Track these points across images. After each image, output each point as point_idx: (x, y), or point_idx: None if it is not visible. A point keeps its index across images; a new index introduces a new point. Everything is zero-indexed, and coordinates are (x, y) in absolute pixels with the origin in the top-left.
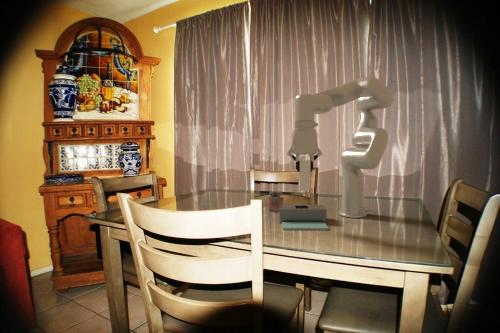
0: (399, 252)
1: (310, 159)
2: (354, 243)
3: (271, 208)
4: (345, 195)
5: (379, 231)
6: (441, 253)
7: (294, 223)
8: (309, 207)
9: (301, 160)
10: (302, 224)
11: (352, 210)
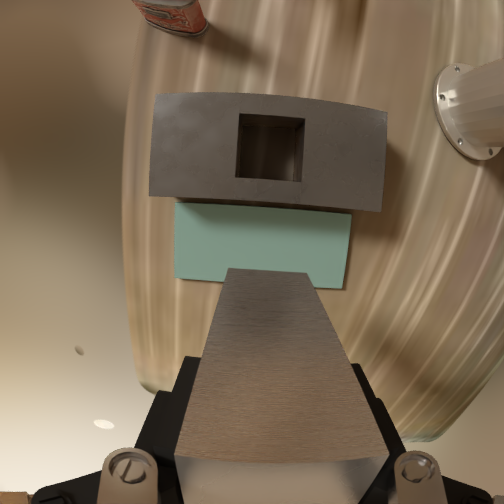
0: (414, 414)
1: (391, 491)
2: None
3: (153, 20)
4: (499, 110)
5: (465, 298)
6: (467, 405)
7: (224, 225)
8: (310, 159)
9: (224, 499)
10: (255, 240)
11: (478, 141)
